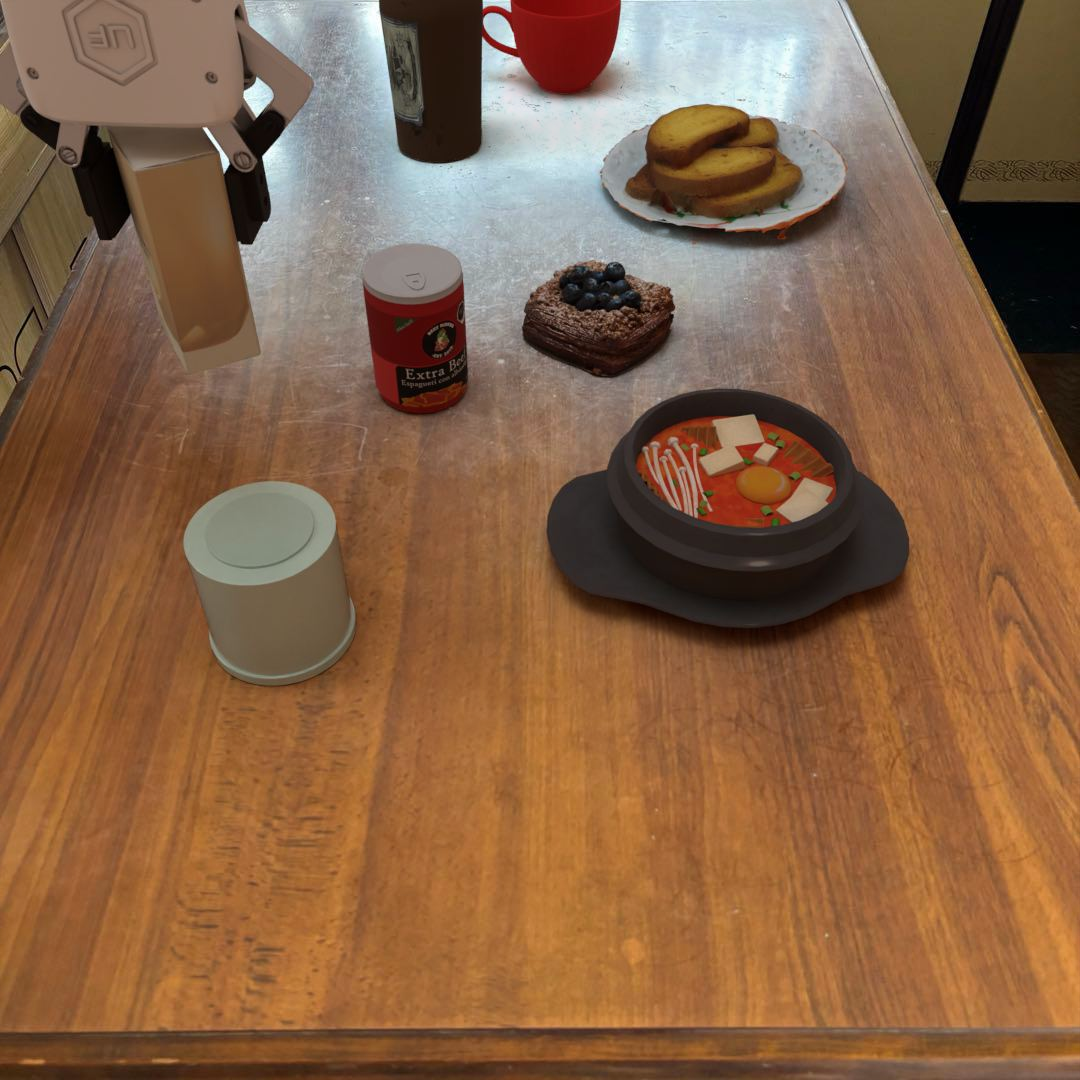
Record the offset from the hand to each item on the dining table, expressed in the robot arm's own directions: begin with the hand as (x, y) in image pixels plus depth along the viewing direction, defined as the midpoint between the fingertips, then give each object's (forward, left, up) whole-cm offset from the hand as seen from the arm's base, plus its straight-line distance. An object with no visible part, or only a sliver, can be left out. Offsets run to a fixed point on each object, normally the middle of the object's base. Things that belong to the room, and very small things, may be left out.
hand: (183, 227), depth 58 cm
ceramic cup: (+13, +85, -26) cm, 89 cm away
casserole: (+31, +5, -26) cm, 41 cm away
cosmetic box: (0, 0, -7) cm, 7 cm away
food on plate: (+33, +59, -26) cm, 72 cm away
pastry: (+21, +31, -26) cm, 46 cm away
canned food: (+7, +22, -26) cm, 35 cm away
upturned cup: (+2, -5, -26) cm, 26 cm away
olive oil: (+2, +67, -26) cm, 71 cm away
